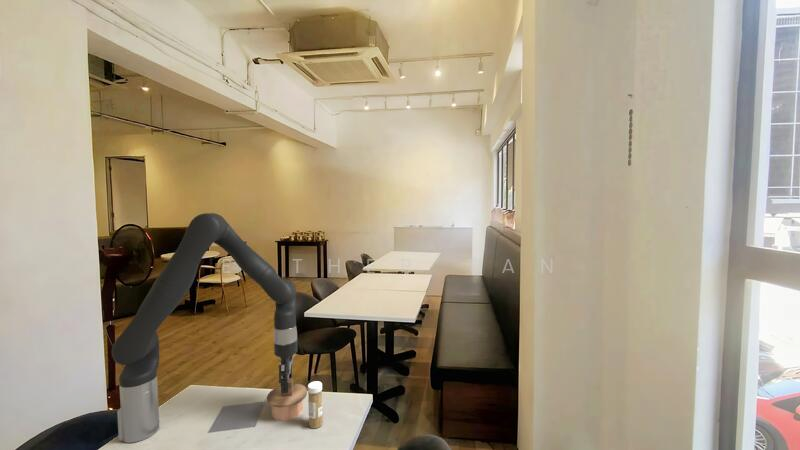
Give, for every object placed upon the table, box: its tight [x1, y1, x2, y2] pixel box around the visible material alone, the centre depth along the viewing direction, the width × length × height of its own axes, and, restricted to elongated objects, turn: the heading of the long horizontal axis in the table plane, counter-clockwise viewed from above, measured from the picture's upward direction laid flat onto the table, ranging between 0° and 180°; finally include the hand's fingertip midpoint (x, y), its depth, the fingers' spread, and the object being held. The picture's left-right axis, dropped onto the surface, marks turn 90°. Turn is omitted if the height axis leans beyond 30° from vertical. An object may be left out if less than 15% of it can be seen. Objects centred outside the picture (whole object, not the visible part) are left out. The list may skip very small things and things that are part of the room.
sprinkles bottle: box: [307, 380, 324, 429], centre depth 106 cm, size 5×5×13 cm
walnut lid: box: [266, 377, 308, 407], centre depth 113 cm, size 13×13×5 cm
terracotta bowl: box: [270, 399, 304, 421], centre depth 113 cm, size 10×10×6 cm
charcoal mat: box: [207, 401, 266, 434], centre depth 110 cm, size 14×14×1 cm
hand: (286, 385), depth 112 cm, fingers open, 8 cm apart
